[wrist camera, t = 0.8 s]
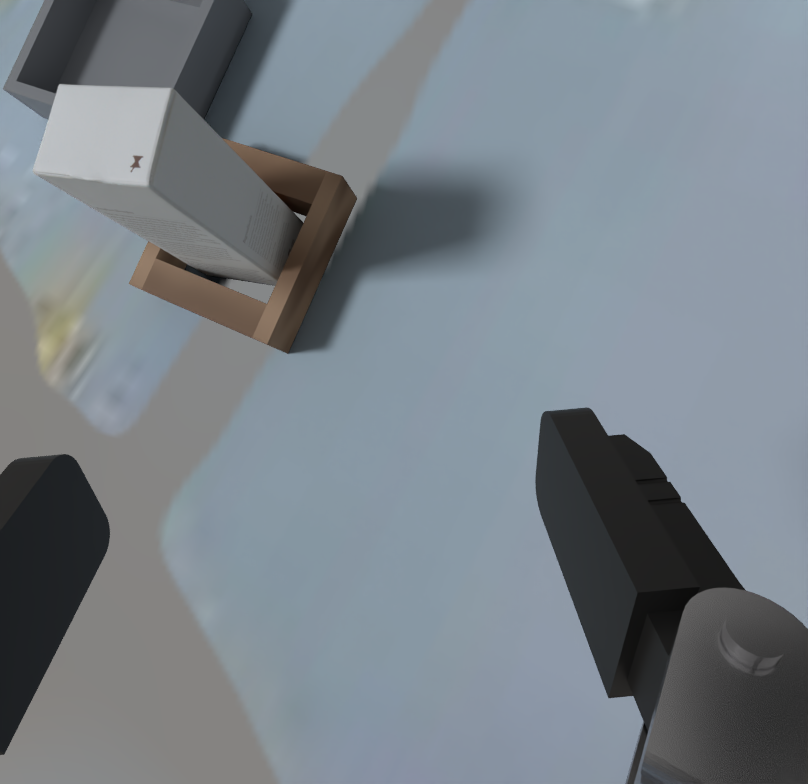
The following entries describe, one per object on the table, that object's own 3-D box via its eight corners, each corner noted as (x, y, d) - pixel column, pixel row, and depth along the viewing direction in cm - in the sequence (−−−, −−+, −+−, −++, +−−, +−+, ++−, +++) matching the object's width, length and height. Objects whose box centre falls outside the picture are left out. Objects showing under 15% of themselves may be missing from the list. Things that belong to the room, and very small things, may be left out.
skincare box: (306, 221, 32) (177, 84, 21) (290, 290, 32) (149, 189, 20) (220, 211, 34) (55, 78, 22) (203, 276, 33) (26, 175, 22)
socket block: (222, 154, 34) (198, 130, 32) (357, 198, 31) (342, 176, 29) (157, 296, 34) (128, 283, 32) (287, 353, 31) (267, 344, 29)
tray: (107, -20, 39) (72, -59, 36) (252, 13, 35) (226, -27, 32) (42, 117, 38) (2, 89, 36) (182, 165, 35) (150, 138, 32)
